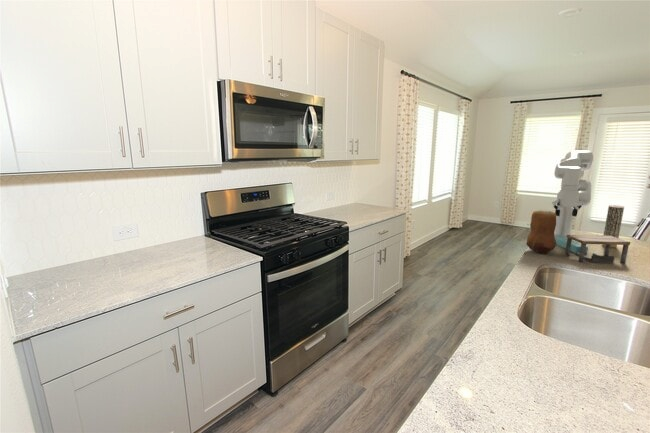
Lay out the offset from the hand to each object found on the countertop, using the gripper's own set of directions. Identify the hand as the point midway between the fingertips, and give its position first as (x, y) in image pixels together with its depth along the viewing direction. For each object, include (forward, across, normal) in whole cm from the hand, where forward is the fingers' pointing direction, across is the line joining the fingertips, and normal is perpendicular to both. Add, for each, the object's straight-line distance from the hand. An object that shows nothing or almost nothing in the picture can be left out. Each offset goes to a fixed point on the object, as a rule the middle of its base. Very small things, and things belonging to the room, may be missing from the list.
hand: (565, 216), depth 190 cm
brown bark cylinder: (+18, -26, +2) cm, 32 cm away
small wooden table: (+18, 0, +27) cm, 33 cm away
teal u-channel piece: (+18, 0, +7) cm, 19 cm away
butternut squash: (+18, +22, +18) cm, 34 cm away
